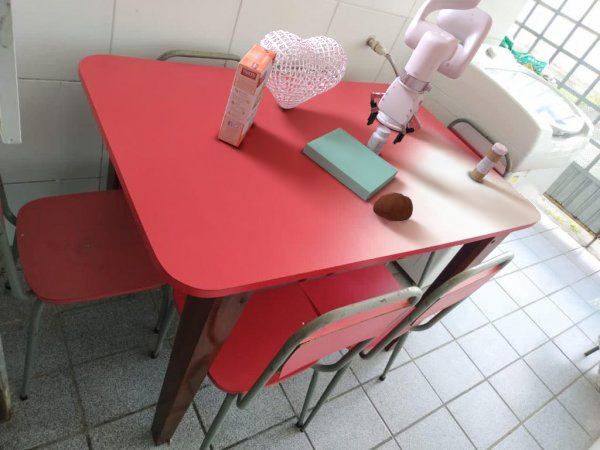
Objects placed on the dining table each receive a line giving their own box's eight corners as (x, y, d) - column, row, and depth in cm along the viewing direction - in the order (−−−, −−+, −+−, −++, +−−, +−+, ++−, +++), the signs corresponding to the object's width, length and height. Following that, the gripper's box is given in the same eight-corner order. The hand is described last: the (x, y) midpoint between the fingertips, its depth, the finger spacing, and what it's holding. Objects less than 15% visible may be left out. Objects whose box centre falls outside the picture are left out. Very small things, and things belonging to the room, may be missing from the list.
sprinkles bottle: (475, 173, 141) (501, 142, 132) (483, 182, 139) (511, 151, 130) (466, 173, 139) (493, 141, 130) (475, 182, 136) (502, 151, 127)
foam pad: (335, 135, 125) (340, 127, 123) (393, 178, 119) (398, 170, 117) (302, 152, 112) (306, 143, 110) (365, 201, 107) (370, 193, 105)
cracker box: (238, 148, 103) (262, 73, 89) (216, 139, 102) (237, 61, 88) (254, 123, 113) (278, 52, 99) (234, 114, 112) (255, 41, 99)
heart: (308, 94, 137) (335, 29, 122) (332, 122, 129) (364, 56, 115) (234, 91, 121) (254, 16, 106) (257, 124, 113) (282, 48, 98)
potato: (412, 228, 106) (429, 207, 100) (376, 229, 100) (392, 206, 95) (398, 207, 110) (414, 186, 105) (364, 206, 105) (378, 184, 99)
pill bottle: (380, 152, 127) (393, 130, 122) (376, 158, 124) (389, 136, 118) (367, 144, 128) (379, 122, 122) (362, 150, 124) (375, 127, 118)
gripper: (444, 96, 110) (410, 147, 121) (393, 62, 114) (364, 114, 125) (435, 101, 104) (401, 153, 115) (381, 65, 109) (353, 119, 120)
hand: (382, 133), depth 120 cm, fingers open, 9 cm apart
